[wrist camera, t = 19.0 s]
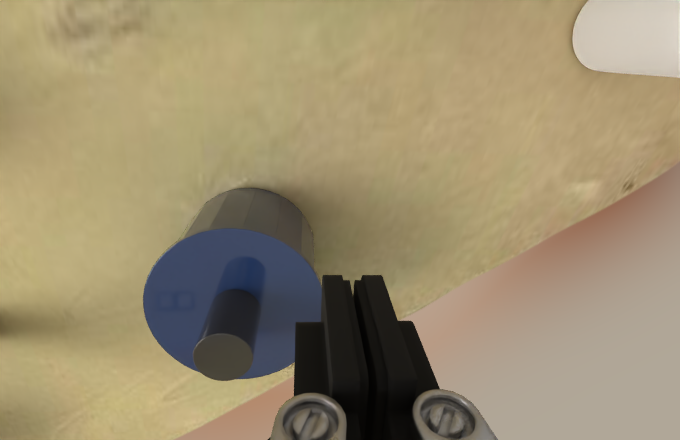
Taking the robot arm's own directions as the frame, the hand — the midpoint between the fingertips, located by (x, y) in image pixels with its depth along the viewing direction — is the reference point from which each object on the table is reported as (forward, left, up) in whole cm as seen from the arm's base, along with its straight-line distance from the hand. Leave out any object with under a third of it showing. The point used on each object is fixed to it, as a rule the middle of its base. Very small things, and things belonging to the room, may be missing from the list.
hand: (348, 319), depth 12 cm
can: (+19, +16, -26) cm, 36 cm away
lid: (-3, -12, -16) cm, 20 cm away
